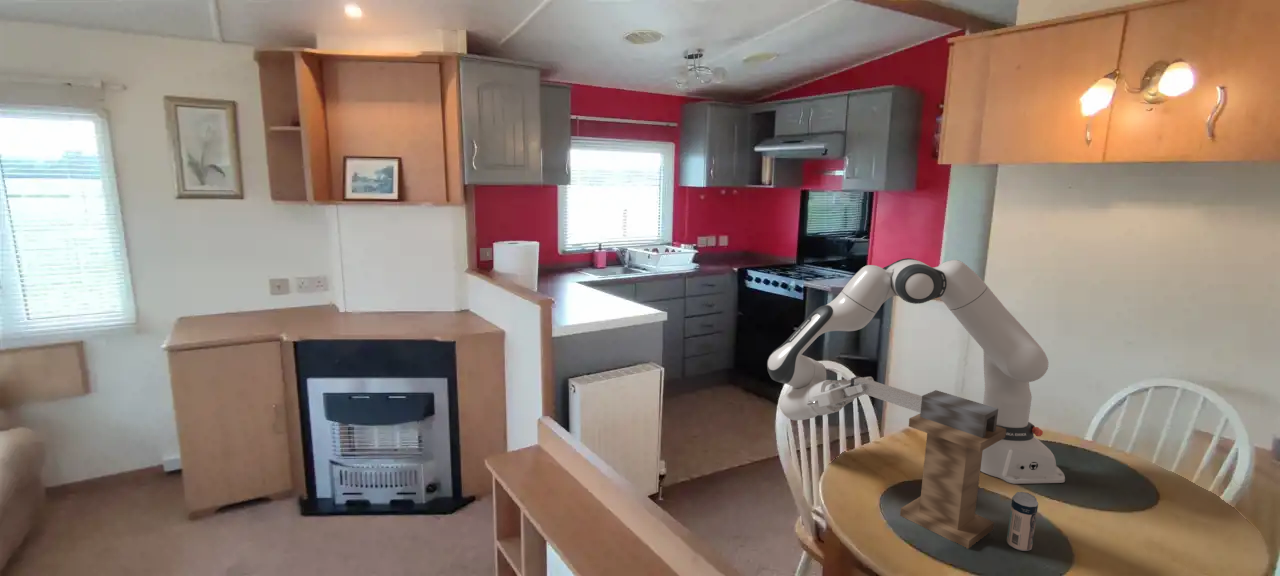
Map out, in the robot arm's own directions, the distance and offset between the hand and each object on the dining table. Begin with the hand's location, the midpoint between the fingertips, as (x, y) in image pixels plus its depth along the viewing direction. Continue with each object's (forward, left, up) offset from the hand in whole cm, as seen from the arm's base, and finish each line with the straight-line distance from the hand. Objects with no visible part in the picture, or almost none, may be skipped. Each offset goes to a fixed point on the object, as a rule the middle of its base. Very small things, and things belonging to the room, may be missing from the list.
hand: (868, 385), depth 154 cm
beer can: (-29, +23, -27) cm, 46 cm away
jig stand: (-16, +16, -27) cm, 36 cm away
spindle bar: (-5, +5, -2) cm, 7 cm away
